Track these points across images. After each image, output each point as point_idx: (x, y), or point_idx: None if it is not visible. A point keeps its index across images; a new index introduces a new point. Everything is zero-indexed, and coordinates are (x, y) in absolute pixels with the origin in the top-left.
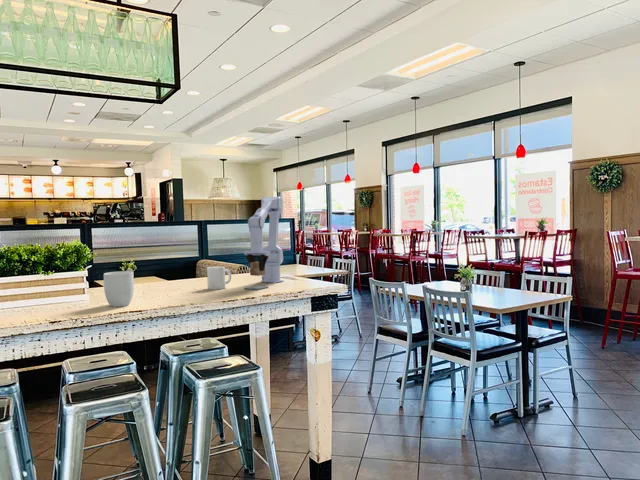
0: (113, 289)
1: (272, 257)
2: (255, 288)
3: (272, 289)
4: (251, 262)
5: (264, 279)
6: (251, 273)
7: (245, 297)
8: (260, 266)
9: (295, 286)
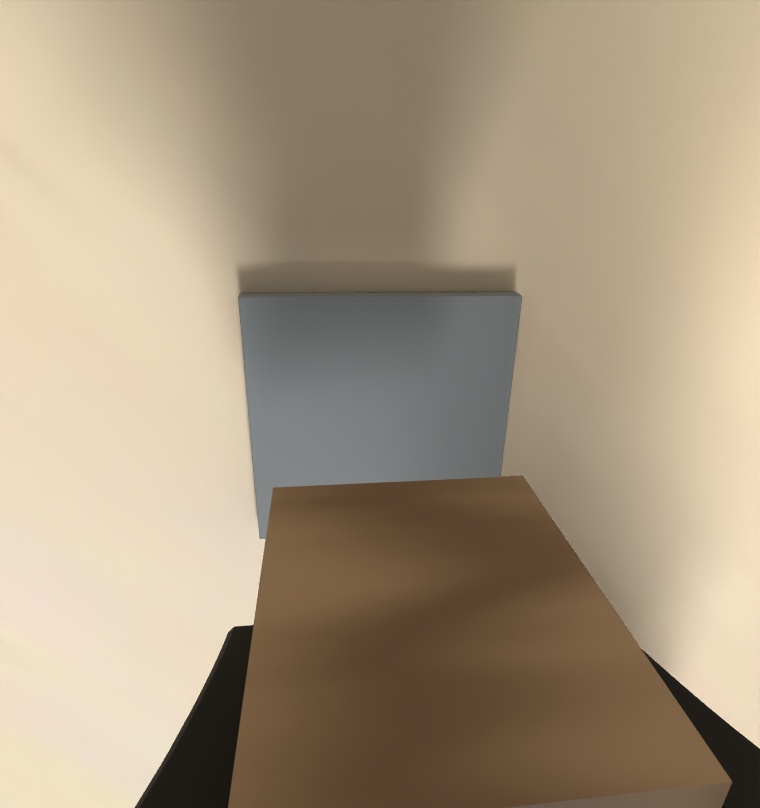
0: None
1: None
2: (304, 330)
3: (104, 469)
4: None
5: None
6: (497, 502)
7: None
8: (185, 737)
9: (59, 745)
